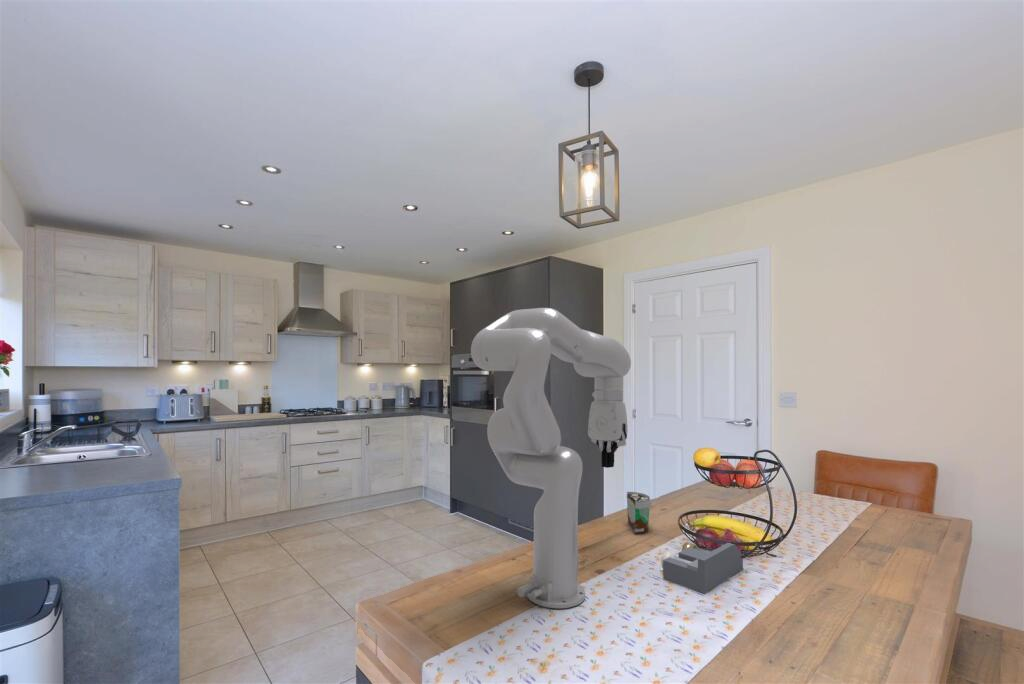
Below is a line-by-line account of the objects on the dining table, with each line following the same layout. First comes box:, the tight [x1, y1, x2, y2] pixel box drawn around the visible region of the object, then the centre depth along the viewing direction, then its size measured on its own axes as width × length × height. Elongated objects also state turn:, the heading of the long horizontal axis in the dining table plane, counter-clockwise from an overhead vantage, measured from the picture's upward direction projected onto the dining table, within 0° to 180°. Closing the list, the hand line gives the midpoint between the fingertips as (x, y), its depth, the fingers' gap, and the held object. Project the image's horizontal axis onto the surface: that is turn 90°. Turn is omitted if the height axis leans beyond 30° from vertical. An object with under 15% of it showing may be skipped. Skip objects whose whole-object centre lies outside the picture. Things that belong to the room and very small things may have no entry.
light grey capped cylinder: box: [660, 551, 691, 569], centre depth 113 cm, size 4×10×4 cm, turn 42°
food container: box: [626, 491, 653, 536], centre depth 147 cm, size 12×6×10 cm, turn 179°
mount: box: [662, 537, 744, 594], centre depth 115 cm, size 20×10×7 cm, turn 132°
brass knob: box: [681, 542, 711, 553], centre depth 120 cm, size 4×10×4 cm, turn 42°
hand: (607, 466), depth 126 cm, fingers closed
